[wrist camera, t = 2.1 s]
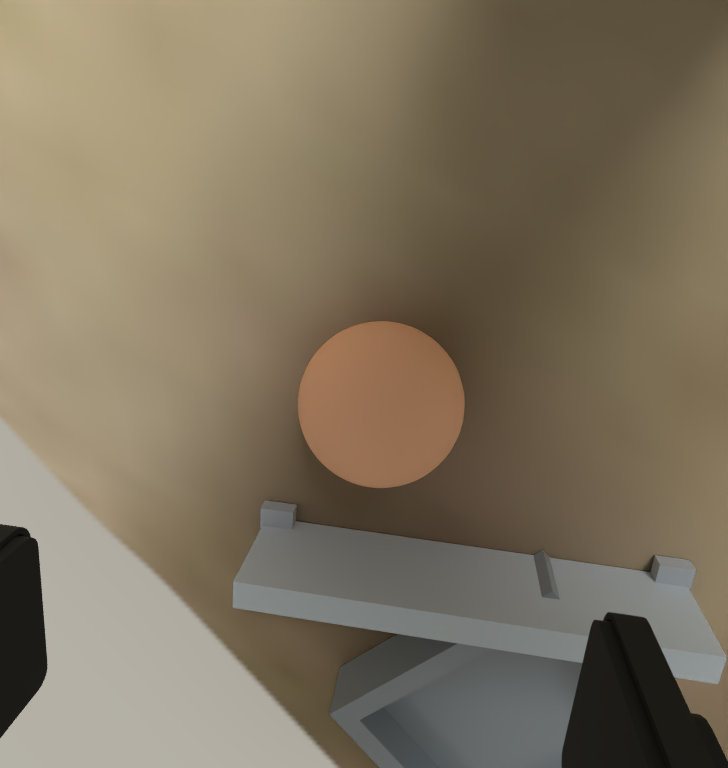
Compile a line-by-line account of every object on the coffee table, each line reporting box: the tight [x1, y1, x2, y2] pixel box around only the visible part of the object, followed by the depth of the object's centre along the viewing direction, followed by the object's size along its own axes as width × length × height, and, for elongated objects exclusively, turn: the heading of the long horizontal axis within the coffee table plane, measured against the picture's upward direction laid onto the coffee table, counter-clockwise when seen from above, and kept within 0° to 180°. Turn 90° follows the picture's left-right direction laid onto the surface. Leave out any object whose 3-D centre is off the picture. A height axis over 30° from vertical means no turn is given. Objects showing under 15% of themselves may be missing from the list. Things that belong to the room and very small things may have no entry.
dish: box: [329, 550, 582, 768], centre depth 25 cm, size 10×10×2 cm
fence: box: [233, 500, 727, 684], centre depth 22 cm, size 2×15×4 cm, turn 85°
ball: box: [298, 321, 465, 488], centre depth 20 cm, size 5×5×5 cm
